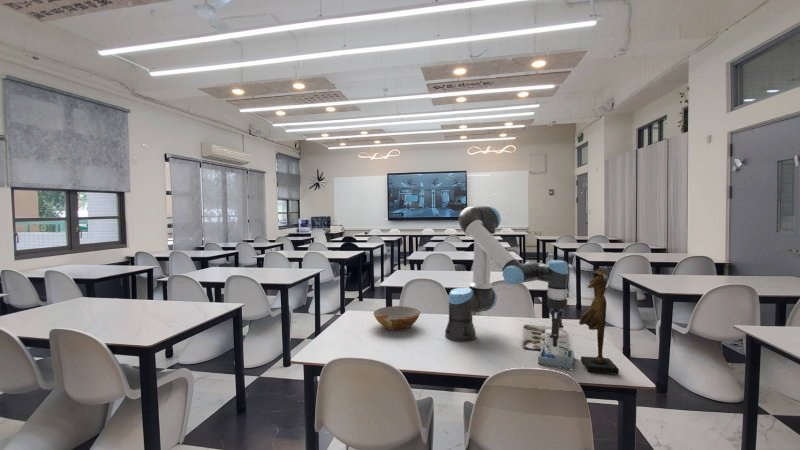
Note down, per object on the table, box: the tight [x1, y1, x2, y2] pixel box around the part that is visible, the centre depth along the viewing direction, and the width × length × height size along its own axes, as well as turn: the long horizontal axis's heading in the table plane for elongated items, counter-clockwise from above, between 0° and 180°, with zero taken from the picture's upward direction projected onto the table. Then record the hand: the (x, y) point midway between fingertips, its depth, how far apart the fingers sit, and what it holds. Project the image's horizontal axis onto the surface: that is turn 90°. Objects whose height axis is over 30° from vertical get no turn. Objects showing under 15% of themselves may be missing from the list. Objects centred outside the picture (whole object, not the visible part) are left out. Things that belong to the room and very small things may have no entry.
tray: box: [537, 345, 575, 370], centre depth 154 cm, size 13×14×3 cm
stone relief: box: [521, 324, 570, 351], centre depth 179 cm, size 32×3×20 cm
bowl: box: [373, 305, 421, 331], centre depth 198 cm, size 25×25×8 cm
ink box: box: [544, 329, 569, 361], centre depth 154 cm, size 9×5×12 cm, turn 76°
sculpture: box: [578, 267, 620, 375], centre depth 146 cm, size 13×11×40 cm
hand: (556, 348), depth 154 cm, fingers open, 13 cm apart
